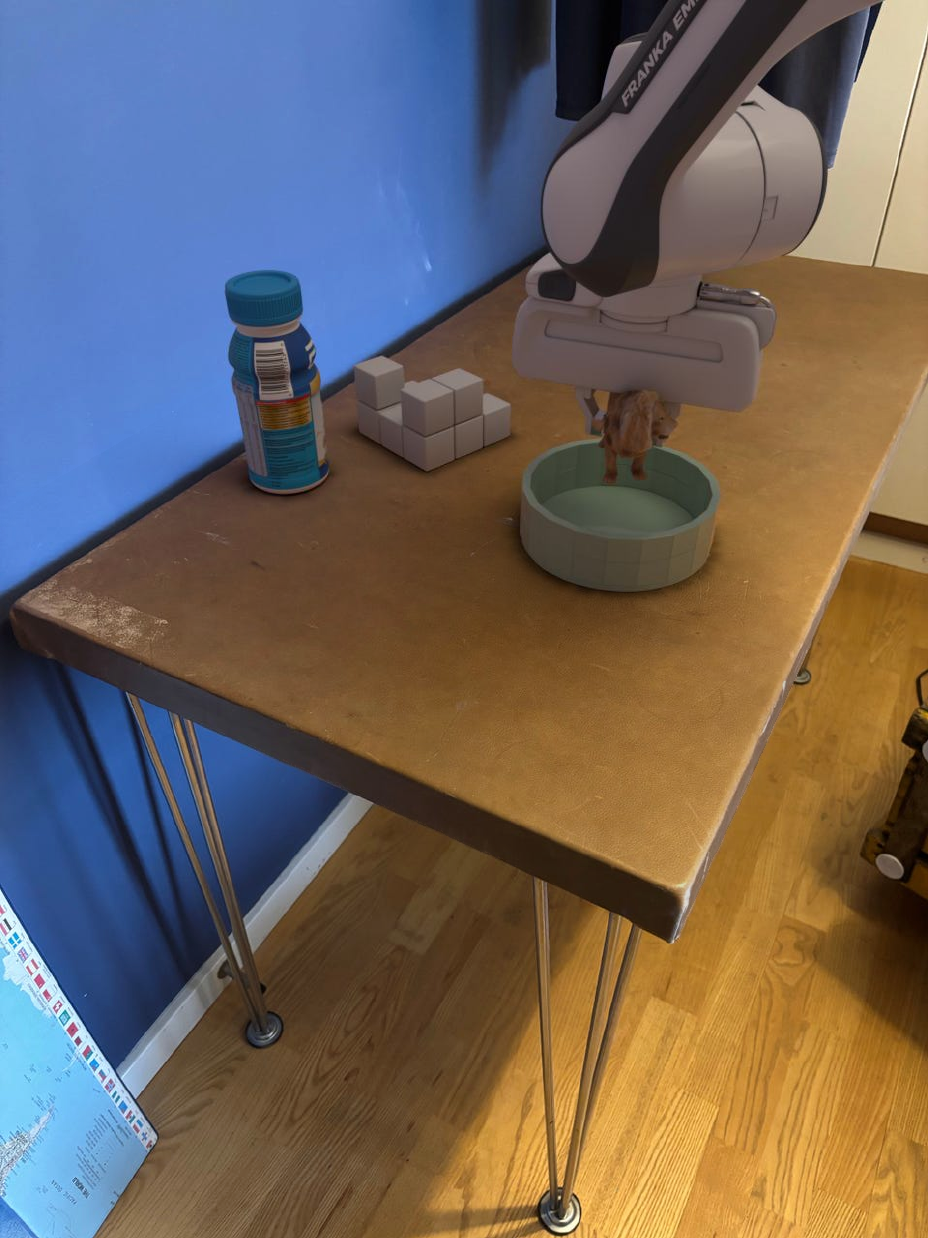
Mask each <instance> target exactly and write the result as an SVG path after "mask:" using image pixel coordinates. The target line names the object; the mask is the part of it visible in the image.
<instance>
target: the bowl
mask: <svg viewBox="0 0 928 1238" xmlns="http://www.w3.org/2000/svg"><path fill="white" fill-rule="evenodd" d="M602 439H603V437H598V438H590V439H582V440H575V441H570V442H567V443H564V444H561V445H557V446H554V447H550V448H549V449H547V450H546V451H545V452H543V453H540V455H538V456H536V457H535V458H533V459H532V460H531V462H530V463H529V464H528V466H527V467H526V468H525V470H523V473H522V477H521V491H520V492H521V494H520V517H519V519H520V521H519V536H520V542H521V544H522V546H523V549H524V550H525V552H526V554H527V555H528V556H529V558H531V560H532V561H533V562H534V563H535V564H537V566H539V567H540V568H542V569H543V570H544V571H546V572H548V573H549V574H551V575H553V576H554V577H557V578H559V579H561V580H563V581H565V582H568V583H571V584H573V585H578V586H580V587H584V588H588V589H593V590H599V591H606V592H619V593H620V592H621V593H631V592H645V591H653V590H658V589H662V588H666V587H670V586H673V585H676V584H678V583H680V582H682V581H684V580H686V579H688V578H690V577H691V576H693V575H694V574H696V572H698V571H699V570H700V569H701V568H702V567H703V566H704V565H705V563H706V562H707V560H708V558H709V556H710V552H711V550H712V549H711V548H712V545H713V543H714V538H715V535H716V529H717V524H718V517H719V513H720V507H721V502H722V497H723V496H722V493H721V488H720V484H719V480H718V478H716V476H715V475H714V474H713V473H712V472H711V471H710V469H708V467H707V466H706V465H705V464H703V463H701V462H700V461H699V460H697V459H695V458H693V457H691V456H690V455H688V454H687V453H685V452H682V451H680V450H676V449H674V448H671V447H669V446H665V445H664V446H663V448H661V447H655V446H653V447H652V448H651V449H649V450H647V453H646V456H645V458H644V462H643V471H644V472H646V473H647V474H648V477H647V478H646V479H645V480H642V481H636V480H635V479H634V478H633V476H632V474H631V466H632V463H633V460H634V459H629V458H621V457H620V456H619V455H617V458H616V467H617V472H618V477H617V481H616V483H615V484H606V483H604V482H603V481H602V478H603V476H604V475H605V473H606V463H605V448H600V447H599V446H598V445H599V442H600V441H601V440H602Z"/></svg>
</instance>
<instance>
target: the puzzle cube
mask: <svg viewBox="0 0 928 1238" xmlns="http://www.w3.org/2000/svg"><path fill="white" fill-rule="evenodd" d="M353 376H354V387H355V398H356V399H357V400H356V408H357V420H358V421H357V423H358V432H359V433H360V434H361V435H363V436H365V437H367V438H368V439H370V440H372V441H374V442H375V443H376V444H379V445H381V446H382V447H384V448H385V449H387V450H389V451H390V452H392V453H394V454H396V455H398V456H399V457H401V458H404V459H405V460H406V461H408V462H409V463H411V464H413V465H414V466H416V467H418V468H420V469H421V470H423V471H424V472H430V471H432V470H434V469H437V468H440V467H441V466H444V465H446V464H448V463H451V462H453V461H454V460H457V459H460V458H463V457H464V456H467V455H469V454H472V453H474V452H476V451H479V450H481V449H483V447H485V448H486V447H488V446H490V445H492V444H494V443H497V442H499V441H502V440H504V439H506V438H508V437H510V436H511V414H512V413H511V411H512V408H511V407H512V405H511V403H509V402H507V401H505V400H503V399H501V398H499V397H497V396H495V395H494V394H493V395H492V394H491V393H488V392H486V393H484V379H483V378H481V377H479V376H477V375H475V374H472V373H471V372H468V371H467V370H464V369H462V368H460V367H458V368H455V369H453V370H450V371H448V372H444V373H442V374H439V375H437V376H434V377H431V379H430V378H428V379H426V380H422V381H420V382H417V381H415V380H410V381H407V382H405V367H404V366H403V364H400V363H398V362H396V361H394V360H392V359H390V358H388V357H385V356H383V355H379V356H376V357H374V358H371V359H367V360H364V361H362V362H359V363H356V364H354V365H353Z"/></svg>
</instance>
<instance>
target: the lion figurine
mask: <svg viewBox="0 0 928 1238" xmlns="http://www.w3.org/2000/svg"><path fill="white" fill-rule="evenodd" d="M658 401H660V400H659V397H658V393H657V392H654V391H646V390H645V389H643V390H636V391H628V392H624V393H623V394H620V393H614V392H608V399H607V407H606V411H608V413H607V416H606V418H605V421H604V433H603V436H602V438H603V439H602V440H601V441H600V442H599V445H598V446H599V447H600V448H605V463H606V473H605V475H604V476H603V478H602V481H603V482H604V483H606V484H615V483H616V481H617V477H618V472H617V467H616V458H617V455H619V456H620V457H621V458H629V459H634V460H633V463H632V466H631V474H632V476H633V478H634V479H635V480H636V481H642V480H645V479H646V478H647V477H648V474H647V473H646V472H644V471H643V462H644V458H645V456H646V453H647V450H649V449H651V448H652V447H653V445H654V442H655V439H658V440H660V441H661V442H665V443H666V442H667V441H668V440H669V437H670V435H671V434H672V433H673V432H674V431H675V429H676V428H677V427H678V425H679V422H678V421H677V420H674V419H672V418H671V417H670V416H669V415H668V414H667V413H668V412H666V410H665V408H664V407H662V406H661V405H659V402H658Z"/></svg>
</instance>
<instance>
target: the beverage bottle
mask: <svg viewBox="0 0 928 1238" xmlns="http://www.w3.org/2000/svg"><path fill="white" fill-rule="evenodd" d="M224 295H225V302H226V306H227V311H228V315H229V318H230V321H231V322H232V324H233V325H235V326H236V327H235V329H234V332H233V334H232V336H231V339H230V341H229V344H228V345H229V346H228V353H227V358H228V359H227V360H228V363H229V365H230V366H231V367H232V369H233V372H232V374H231V379H230V381H231V389H232V392H233V395H234V397H235V402H236V408H237V412H238V417H239V422H240V428H241V434H242V439H243V444H244V445H243V446H244V449H245V455H246V461H247V471H248V476H249V479H250V481H251V483H252V484H253V485H254V486H255V487H256V488H258V489H259V490H262V491H263V492H267V493H271V494H276V495H291V494H296V493H297V494H299V493H302V492H306V491H309V490H312V489H314V488H316V487H317V486H319V485H320V484H322V483H323V482H324V481H325V480H326V478H327V477H328V474H329V472H330V464H329V463H330V462H329V457H328V449H327V440H326V431H325V423H324V422H325V421H324V412H323V402H322V394H321V386H322V385H321V384H322V380H321V379H322V378H321V373H320V370H319V368H318V367H317V365H316V364H315V359H316V356H317V348H316V346H315V342H314V340H313V339H312V337H311V334H310V333H309V332H308V330H307V328H306V327H305V326H304V325H303V323H301V321H300V320H301V319H302V317H303V312H304V306H303V296H302V295H303V294H302V289H301V284H300V281H299V278H298V277H297V275H294V274H293V273H291V272H287V271H283V270H275V269H261V270H252V271H246V272H242V273H239V274H235V275H234V276H232V277H231V278H228V280H227V281H226V282H225V284H224Z"/></svg>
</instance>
